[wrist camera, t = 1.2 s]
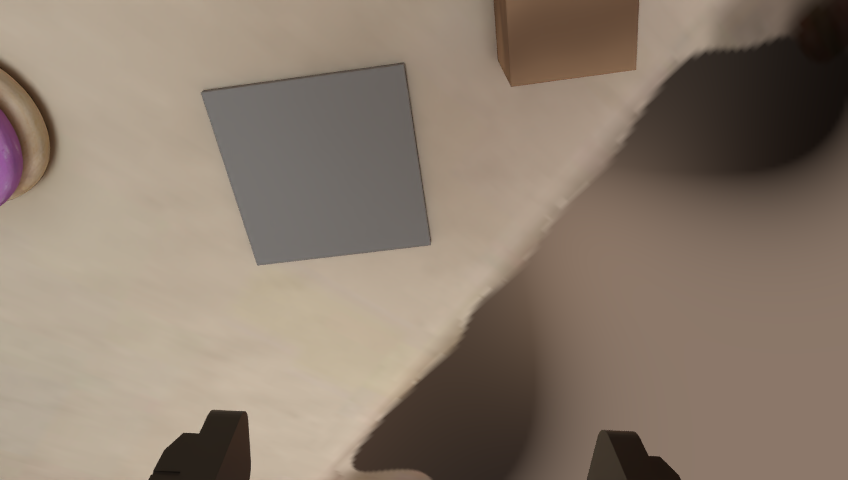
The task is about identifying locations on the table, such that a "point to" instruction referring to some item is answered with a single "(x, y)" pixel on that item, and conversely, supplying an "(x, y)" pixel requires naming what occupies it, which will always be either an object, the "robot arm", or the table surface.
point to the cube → (565, 38)
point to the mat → (323, 163)
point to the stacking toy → (20, 140)
